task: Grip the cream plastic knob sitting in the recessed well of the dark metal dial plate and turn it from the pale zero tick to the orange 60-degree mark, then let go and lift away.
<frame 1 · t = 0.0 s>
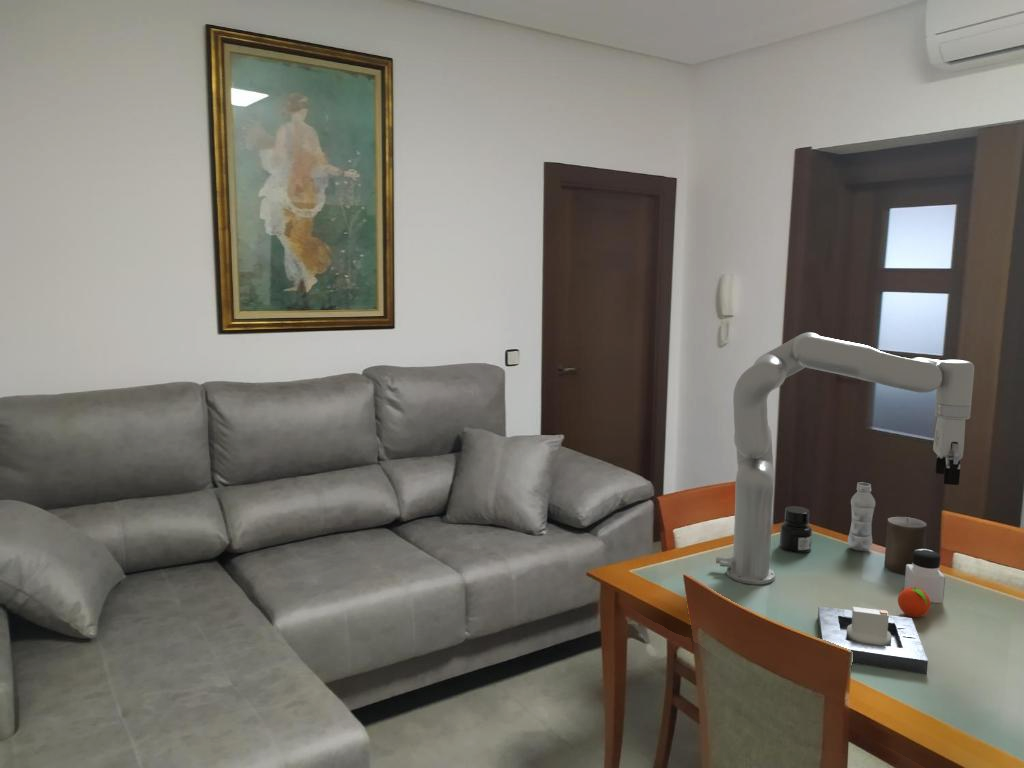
hand: (946, 478, 187), 31 cm above the table, tool pointing down, fingers open, 9 cm apart
dial knob: (869, 624, 168), point 5 cm above the table, hinge at 0.0°
ink bottle: (795, 549, 226), on the table
medicine bottle: (923, 597, 193), on the table
pillar candle: (903, 569, 210), on the table
clementine: (914, 617, 182), on the table
plastic bottle: (859, 550, 225), on the table
dial plate: (868, 643, 169), on the table
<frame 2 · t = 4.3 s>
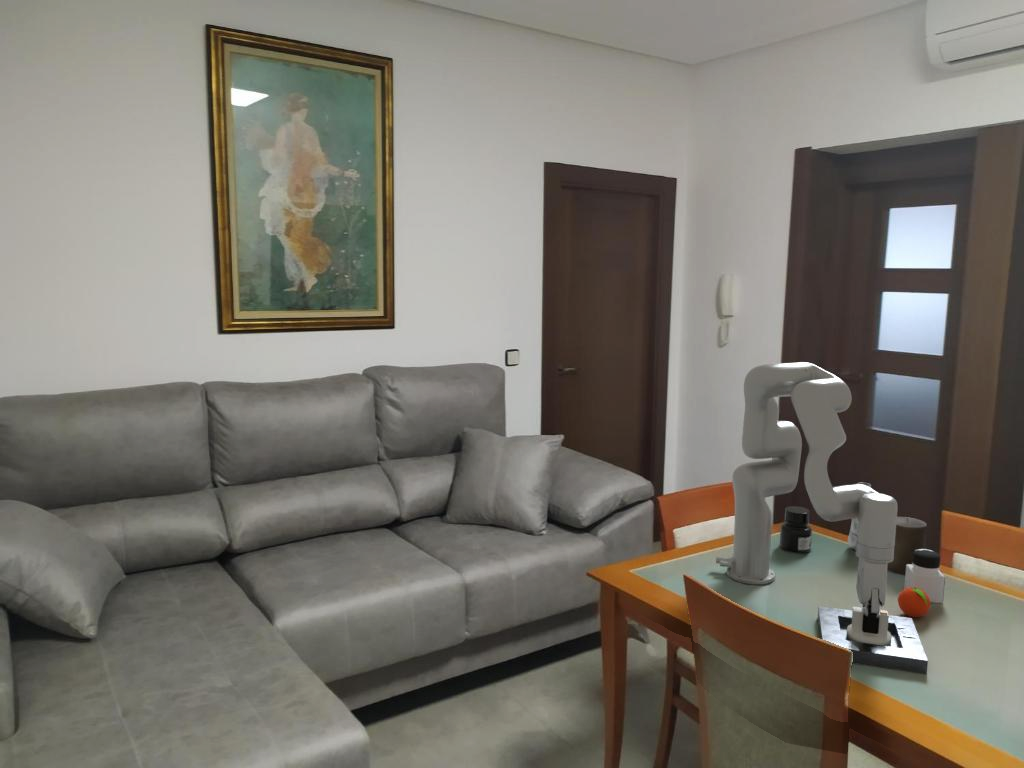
hand: (869, 628, 169), 4 cm above the table, tool pointing down, fingers closed on dial knob, 2 cm apart
dial knob: (869, 624, 168), point 5 cm above the table, hinge at 0.0°, touching gripper
everything else where it was.
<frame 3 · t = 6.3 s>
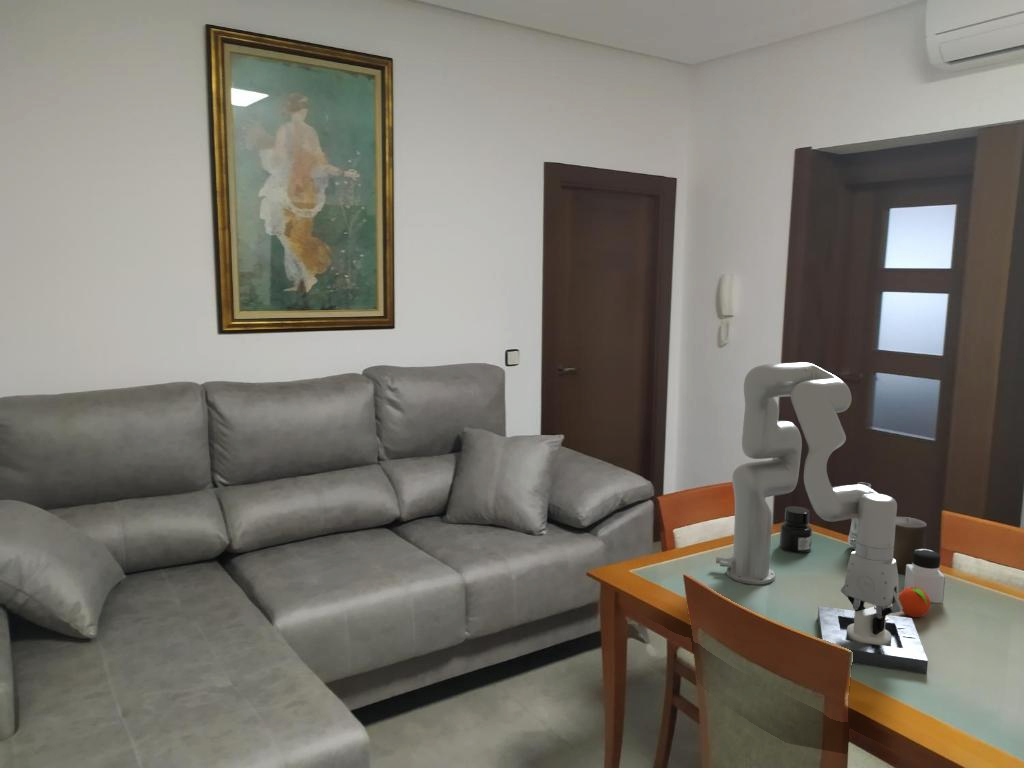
hand: (868, 628, 169), 4 cm above the table, tool pointing down, fingers closed on dial knob, 3 cm apart
dial knob: (869, 624, 168), point 5 cm above the table, hinge at 43.8°, touching gripper
everything else where it was.
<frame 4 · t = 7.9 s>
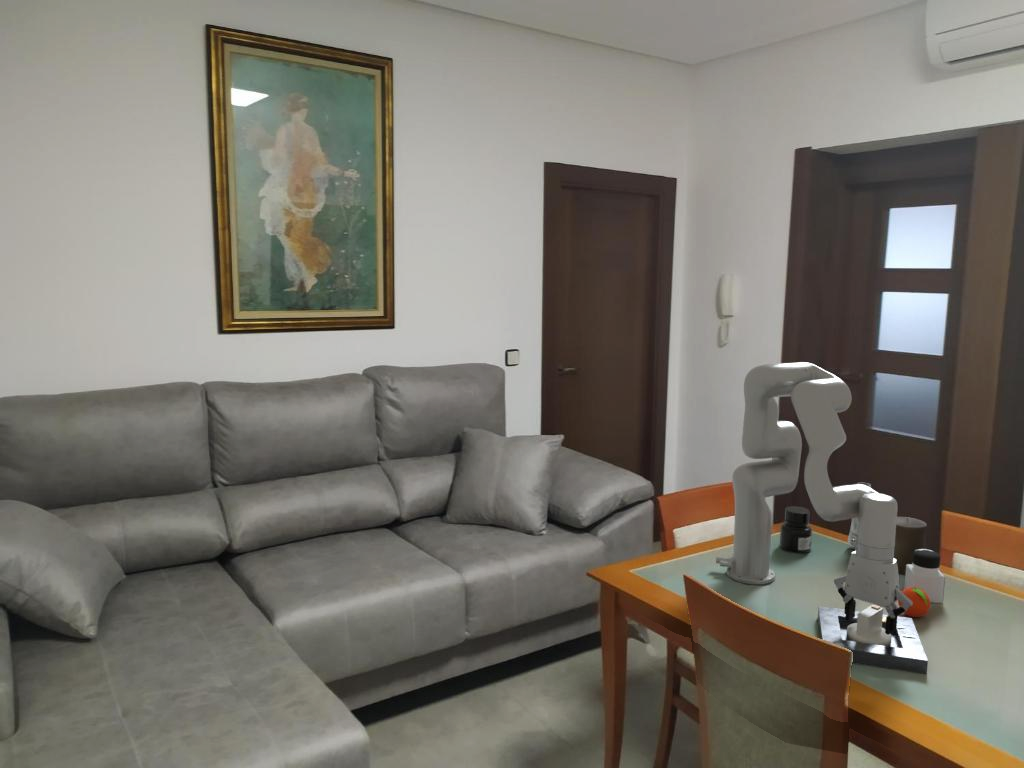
hand: (869, 624, 168), 5 cm above the table, tool pointing down, fingers open, 8 cm apart
dial knob: (869, 624, 168), point 5 cm above the table, hinge at 58.8°
everything else where it was.
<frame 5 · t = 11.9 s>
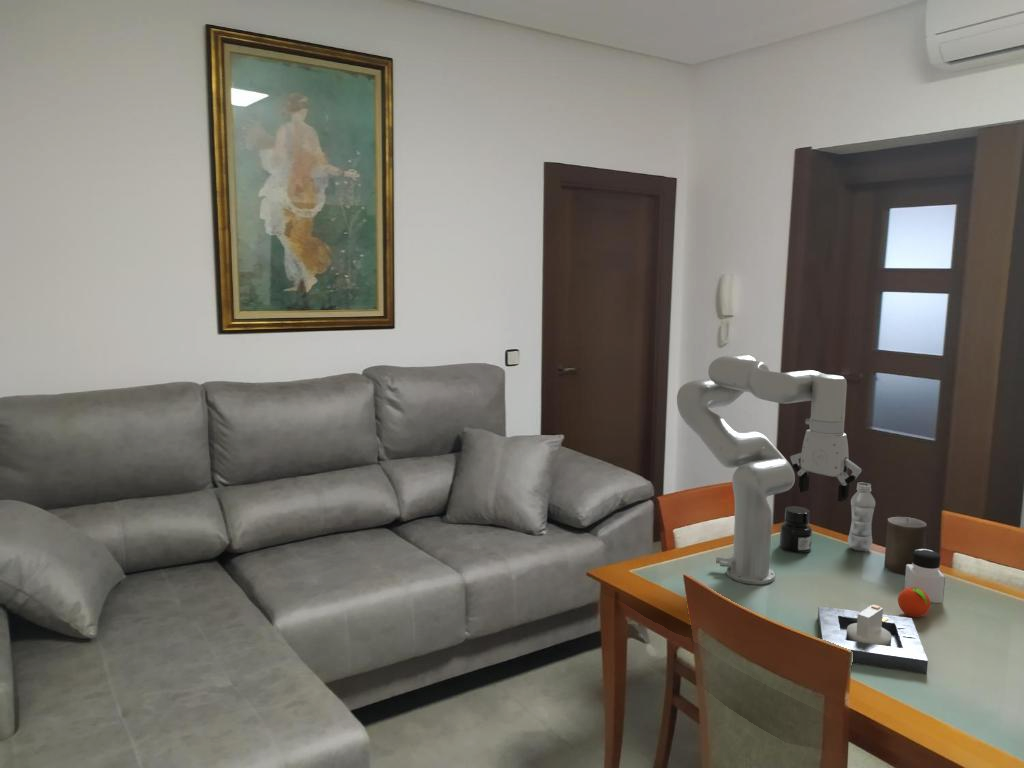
hand: (822, 495, 184), 28 cm above the table, tool pointing down, fingers open, 9 cm apart
dial knob: (869, 624, 168), point 5 cm above the table, hinge at 59.4°
everything else where it was.
at the end: dial knob at +59° (first picture: +0°); the gripper is holding nothing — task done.
